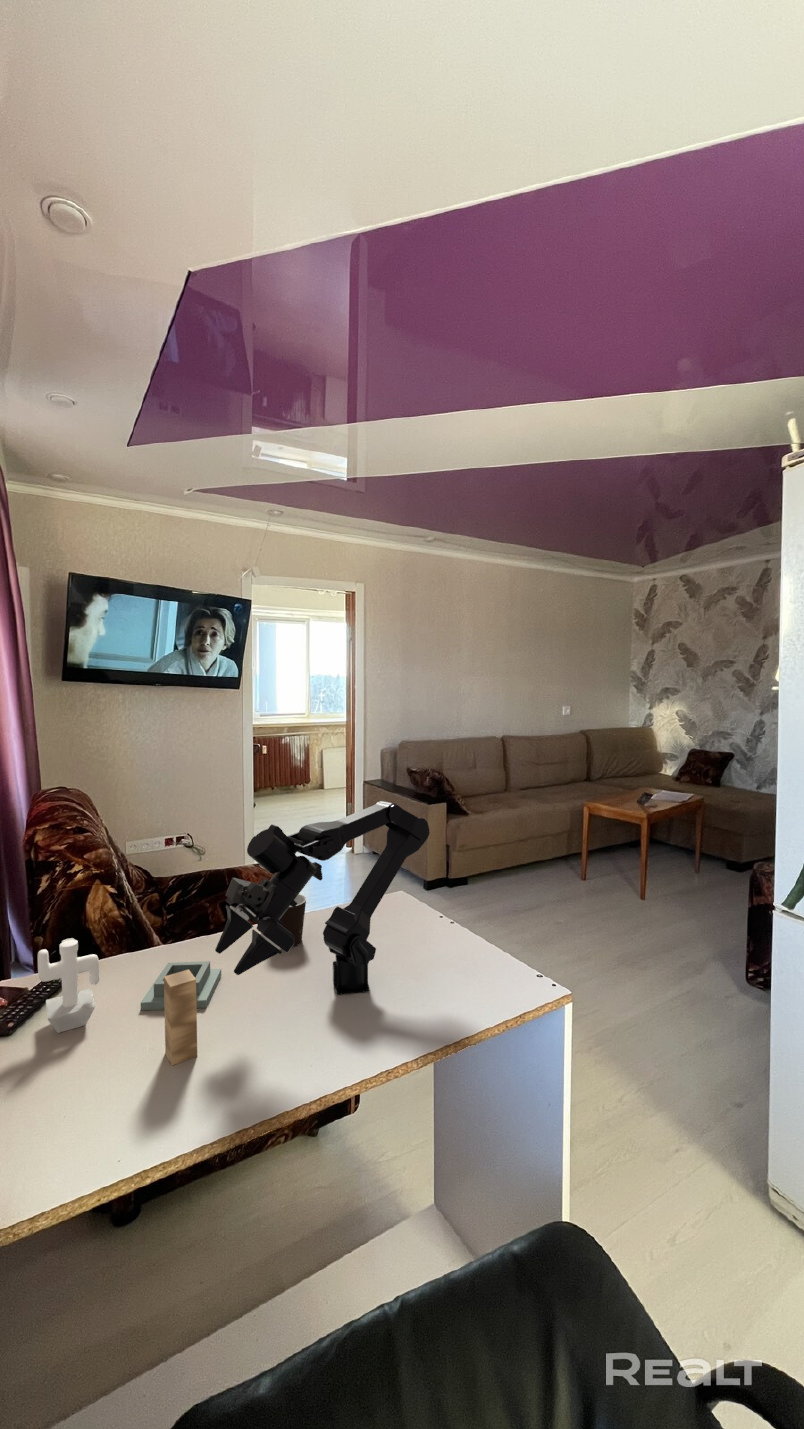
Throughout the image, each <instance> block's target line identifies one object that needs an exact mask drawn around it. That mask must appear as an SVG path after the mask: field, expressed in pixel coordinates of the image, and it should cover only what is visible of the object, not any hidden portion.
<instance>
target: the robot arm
mask: <svg viewBox="0 0 804 1429" xmlns="http://www.w3.org/2000/svg"><path fill="white" fill-rule="evenodd" d="M383 826H384V827H385V828H387V831H386V841H385V842H386V845H385V847H384V849H383V851H382V852H381V853H380V855H379V857H378V858H377V860H376V862H375V863H374V864H373V867H372V868H371V870H370V871H369V873H368V875H367V877H366V878H365V879H364V881H363V883H362V884H361V885H360V888H359V890H358V891H357V893H356V894H355V895H354V897H353V898H352V900H351V902H350V903H349V904H348V905H346V906H345V907H341V906H336V907H335V908H334V909H333V912H332V914H331V915H330V917H329V918H328V919H327V920H326V921H325V922H324V924H325V926H324V928H323V931H322V935H323V943H324V945H326V947H328V950H329V952H330V953H331V954H334V955H335V960H334V961H332V985H333V987H334V988H335V992H336V994H337V995H349V994H358V993H359V994H360V993H369V992H370V985H369V964H370V963H369V962H371V961H373V960H374V959H375V955H376V951H377V947H375V946H374V945H373V944H371V943H370V942H369V941H368V938H369V936H370V933H371V918H372V916H373V915H374V912H375V911H376V909H377V908H378V906H379V904H380V903H381V901H382V899H383V897H384V895H385V894H386V893H387V891H388V889H389V887H390V885H391V884H392V883H393V881H394V879H395V877H396V876H397V874H398V872H400V871H399V870H400V868H402V865H403V864H404V862H405V860H406V859H407V858H408V857H410V856H412V855H414V853H416V852H418V851H419V850H420V849H421V848H422V846H424V844H425V843H426V841H427V840H428V838H429V836H430V827H429V823H428V821H427V819H425V818H423V817H419V816H416V815H414V814H412V813H411V812H409V811H407V810H405V809H404V808H402V807H401V806H400V805H398V804H397V803H395V802H390V801H387V800H380V801H378V802H376V803H375V804H373V805H371V806H369V807H365V808H364V809H360V810H359V811H356V812H354V813H352V814H349V815H346V816H344V817H342V818H339V819H336V820H333V821H321V822H320V821H319V822H315V823H310V824H305V825H304V826H302V827H301V828H300V829H299V831H297V832H294V833H292V834H289V835H286V833H285V832H284V831H283V829H282V828H281V827H279V826H278V825H276V824H270V825H269V827H268V828H266V829H263V830H262V831H260V832H258V833H257V834H256V835H254V836H253V837H252V838H251V839H250V841H249V843H248V845H247V847H246V853H247V855H248V856H249V857H251V859H253V860H254V861H255V862H256V863H258V865H260V866H261V867H262V868H263V869H265V870H266V871H267V872H268V873H270V874H273V876H272V877H271V878H270V879H267V878H265V879H262V880H261V881H260V883H255V881H248V880H245V879H240V878H237V877H231V880H230V883H229V885H228V888H227V890H226V892H225V896H226V897H227V898H226V899H225V902H226V903H227V904H226V905H225V909H226V912H227V921H226V923H225V925H224V928H223V930H222V933H221V935H220V938H219V940H218V941H217V944H216V947H215V949H214V950H215V952H216V953H218V954H219V955H220V954H223V952H224V951H226V950H227V949H228V948H229V947H231V946H232V945H233V944H234V943H236V942H237V941H238V940H239V939H240V938H242V937H243V936H244V935H245V934H246V933H248V932H249V931H250V930H251V929H252V928H253V927H254V925H253V924H252V923H255V924H257V926H256V929H252V930H251V942H250V944H249V945H248V947H247V949H246V950H245V951H244V953H243V954H242V955H241V958H240V959H239V961H238V963H237V964H236V966H235V967H234V970H233V973H234V974H235V975H236V976H240V975H241V974H243V973H245V972H247V971H249V970H250V969H252V968H254V967H255V966H257V965H259V964H261V963H263V962H265V961H266V960H268V959H270V958H273V957H275V956H277V955H278V954H279V955H282V954H283V951H284V952H285V953H287V954H289V952H290V951H291V949H292V948H293V945H294V944H295V936H294V935H293V934H292V933H290V932H289V931H288V930H287V929H285V928H284V927H283V926H282V924H283V923H282V922H281V921H280V918H281V917H282V916H283V914H284V913H285V912H286V910H287V909H288V908H289V906H292V907H293V908H295V906H296V905H297V904H298V903H297V902H295V901H294V900H295V898H296V897H297V895H298V894H300V893H301V892H302V891H303V889H304V888H305V887H306V885H307V884H308V883H309V882H310V880H311V879H312V877H313V878H315V879H317V880H318V881H322V880H323V879H324V878H323V872H322V868H323V866H322V865H321V864H320V863H318V862H316V861H314V862H312V861H311V860H310V859H308V858H307V857H310V858H313V859H315V860H319V861H322V862H324V861H328V860H330V859H331V858H333V857H334V856H335V855H337V854H338V853H340V852H341V851H342V850H343V849H344V847H345V845H347V844H348V843H349V842H351V841H353V840H355V839H358V838H359V837H361V836H363V835H365V834H367V833H370V832H373V831H374V830H376V829H379V828H381V827H383ZM297 853H299V854H302V855H296V854H297ZM306 856H307V857H306ZM248 920H249V921H248ZM256 930H257V931H256ZM258 931H259V932H260V933H259V932H258Z"/></svg>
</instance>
